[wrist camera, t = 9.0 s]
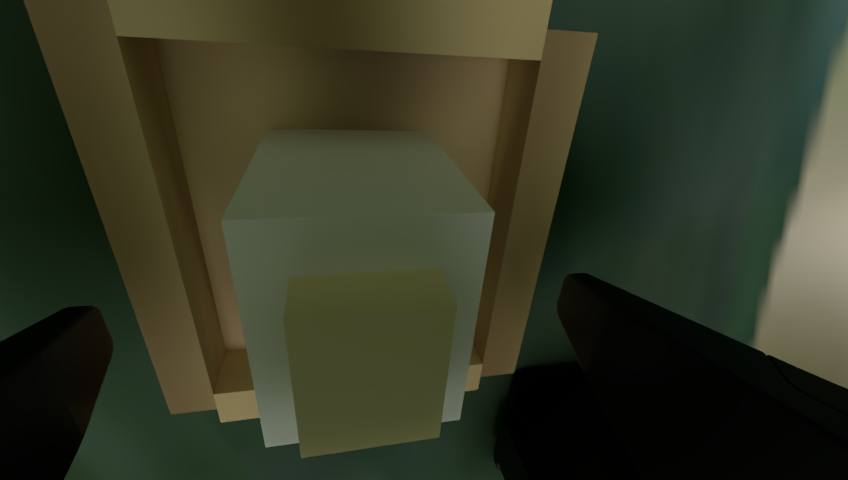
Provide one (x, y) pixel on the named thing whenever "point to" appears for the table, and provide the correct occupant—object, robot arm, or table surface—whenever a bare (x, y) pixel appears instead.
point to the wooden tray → (301, 109)
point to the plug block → (356, 285)
